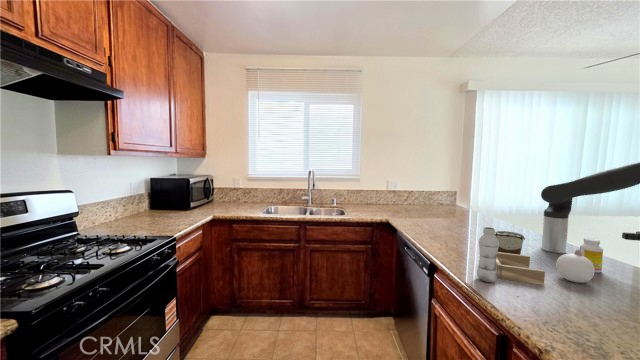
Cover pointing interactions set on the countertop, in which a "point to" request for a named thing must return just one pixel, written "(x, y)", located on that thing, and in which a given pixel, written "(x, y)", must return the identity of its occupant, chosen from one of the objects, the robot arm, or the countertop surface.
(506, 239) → the food container
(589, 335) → the countertop surface
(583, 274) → the ornament
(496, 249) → the plastic bottle
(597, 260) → the supplement bottle
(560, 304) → the countertop surface
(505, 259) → the bay
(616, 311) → the countertop surface
